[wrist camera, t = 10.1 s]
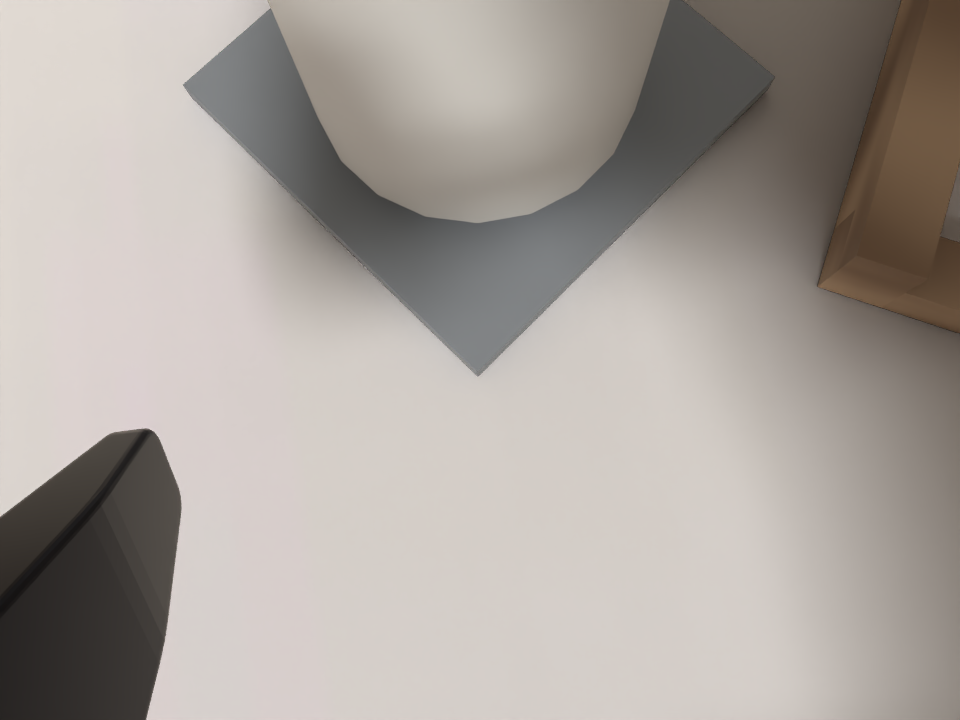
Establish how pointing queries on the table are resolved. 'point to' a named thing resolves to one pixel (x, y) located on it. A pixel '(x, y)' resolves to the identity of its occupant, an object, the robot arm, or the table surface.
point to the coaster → (494, 244)
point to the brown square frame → (906, 176)
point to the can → (472, 94)
